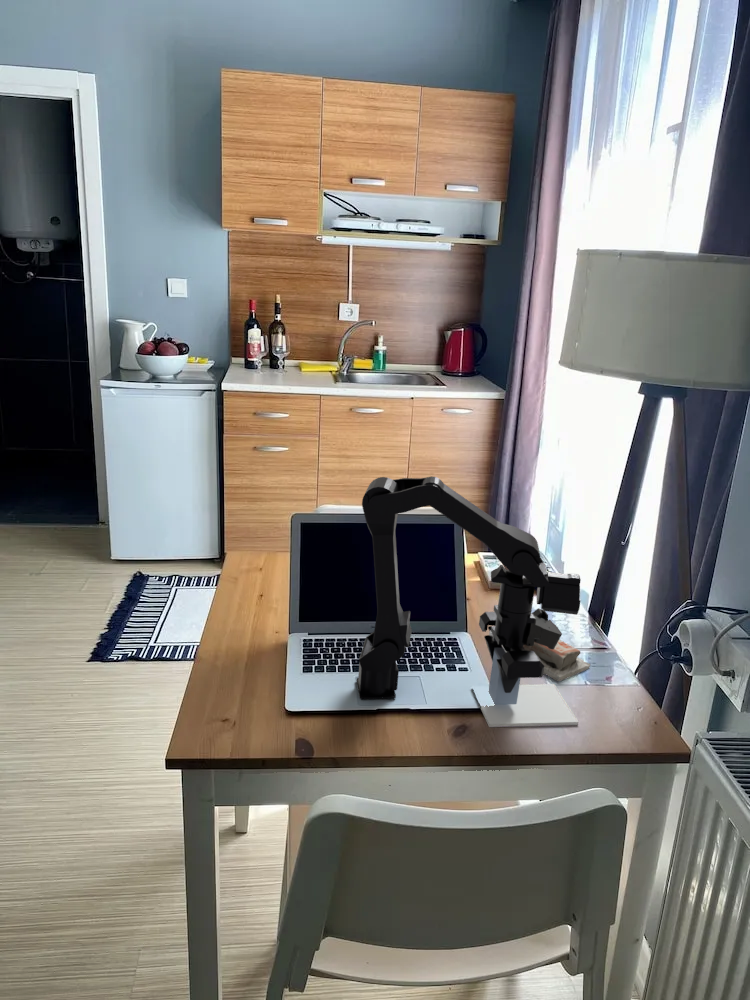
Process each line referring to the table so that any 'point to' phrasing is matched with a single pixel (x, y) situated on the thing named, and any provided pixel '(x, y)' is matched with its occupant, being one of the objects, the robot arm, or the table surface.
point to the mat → (531, 709)
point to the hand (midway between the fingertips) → (504, 685)
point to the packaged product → (559, 660)
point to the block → (496, 683)
